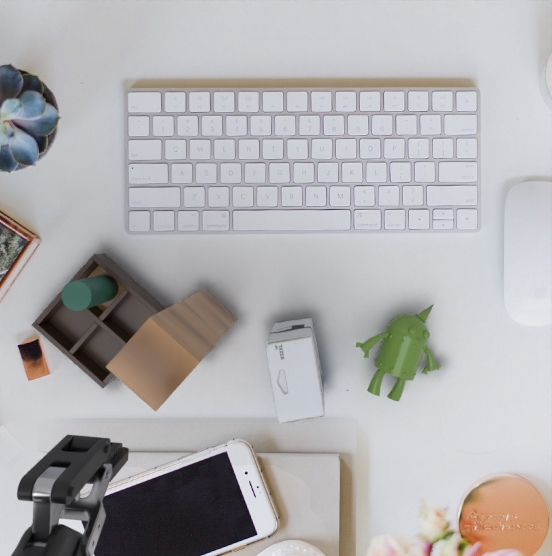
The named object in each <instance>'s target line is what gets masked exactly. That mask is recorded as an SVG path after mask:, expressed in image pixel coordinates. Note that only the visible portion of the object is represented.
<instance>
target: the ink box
mask: <svg viewBox="0 0 552 556" xmlns="http://www.w3.org/2000/svg"><path fill="white" fill-rule="evenodd" d="M265 355H266V360H267V366H268V371H269V379H270V386H271V389H272V396H273V404H274V409H275V416H276V418H277V421H278V423H279V424H280V425H287V424H292V423H298V422H304V421H310V420H314V419H319V418H325V414H326V410H325V408H326V407H325V382H324V376H323V371H322V365H321V360H320V354H319V349H318V343H317V339H316V332H315V327H314V322H313V319H312V317H308V318H307V317H306V318H300V319H292V320H286V321H281V322H280V321H279V322H274V323H273V326H272V328H271V330H270V332H269V335H268V337H267V339H266V341H265Z"/></svg>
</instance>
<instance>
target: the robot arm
mask: <svg viewBox="0 0 552 556" xmlns="http://www.w3.org/2000/svg"><path fill="white" fill-rule="evenodd" d="M129 451H130V449H129V448H128V447H127V446H123V442H113V441H111V438H110V437H99V436H88V435H79V434H77V435H76V434H65V436H64V437H63V438H62V439H61V440H60V441H59V442H58V443H56V444H55V446H53V447H52V449H50V450H49V451H48V452H47V453H46V454H45V455H44V456H43V457H42V458H40V459H39V461H38V462H36V464H35V465H33V466H32V467H31V468H30V469H29V470H28V471H27V472H26V473H25V474H24V475H23V476H22V477H21V479H20V481H19V483H18V486H17V491H16V498H17V500H18V501H23V502H33V503H32V523H31V525H30V526H29V527H28V528H27V529H26V530H25V531H24V532H23V534H22V536H21V537H20V539H19V541H18V542H17V545H16V546H15V549H14V550H13V552H11V554H10V556H94V553H95V551H96V548H97V544H98V542H99V539H100V535H101V533H102V530H103V527H104V524H105V521H106V519H107V511H106V509H105V505H104V503H103V502H104V498H105V495H106V493H107V490H108V487H109V484H110V483H111V482H112V481H113V479H114V478H115V477H116V476H117V475H118V473H119V472H120V471H121V470H122V468H123V467H124V466H125V465H126V464H127V462H128V461H129V453H130V452H129ZM86 485H92V486H91V489H90V492H89V494H88V495H87V496H85V497H81V491H82V490H83V488H84V487H85V486H86ZM60 520H72V521H81V522H87V523H86V525H85V528H84V531H83V532H81V531H80V532H79V531H78V530H76V529H74V528H72V527H70V526H68V525H66V524H62V523H59V522H60Z"/></svg>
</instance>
